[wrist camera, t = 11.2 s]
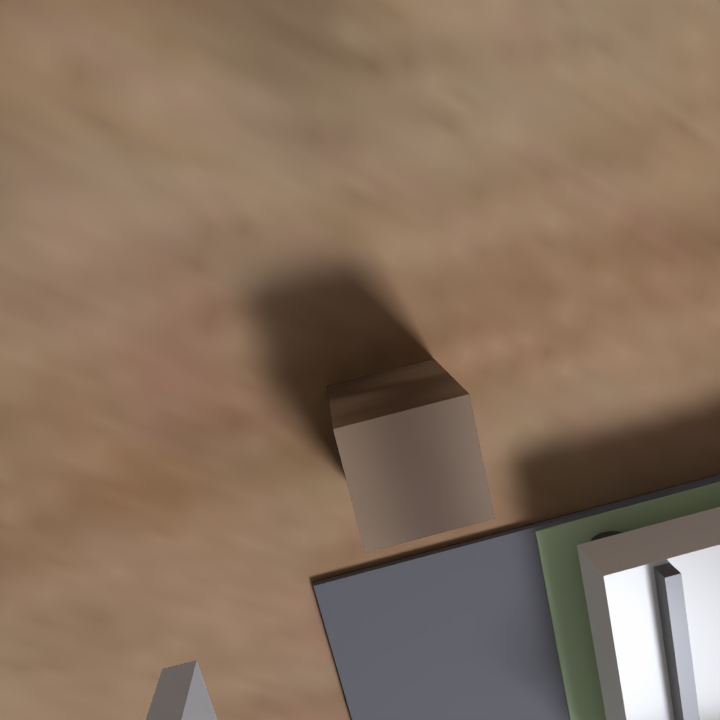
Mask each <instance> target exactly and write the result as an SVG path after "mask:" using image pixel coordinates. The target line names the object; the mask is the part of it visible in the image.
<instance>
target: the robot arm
mask: <svg viewBox="0 0 720 720" xmlns="http://www.w3.org/2000/svg"><path fill="white" fill-rule="evenodd" d="M146 720H217V718H216V715H215V712H214V709H213V706H212V703H211V700H210V697H209V694H208V692H207V689H206V686H205V683H204V680H203V677H202V674H201V671H200V668H199V665H198V662H197V660H195V661H191V662H187V663H184V664H180V665H176V666H172V667H168V668H164V669H162V672H161V675H160V678H159V681H158V684H157V687H156V691H155V694H154V697H153V700H152V703H151V706H150V709H149V712H148V715H147V718H146Z"/></svg>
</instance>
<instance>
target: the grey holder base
mask: <svg viewBox="0 0 720 720" xmlns="http://www.w3.org/2000/svg"><path fill="white" fill-rule="evenodd" d="M717 507H720V474H719V475H716V476H712V477H708V478H704V479H701V480H697V481H693V482H689V483H686V484H682V485H678V486H674V487H671V488H667V489H663V490H659V491H655V492H652V493H648V494H644V495H640V496H637V497H633V498H629V499H625V500H622V501H618V502H614V503H610V504H607V505H603V506H599V507H595V508H592V509H588V510H584V511H580V512H577V513H573V514H569V515H565V516H561V517H558V518H554V519H550V520H546V521H543V522H539V523H535V524H531V525H528V526H524V527H520V528H516V529H513V530H509V531H505V532H501V533H498V534H494V535H490V536H486V537H483V538H479V539H475V540H471V541H467V542H464V543H460V544H456V545H452V546H449V547H445V548H441V549H437V550H434V551H430V552H426V553H422V554H419V555H415V556H411V557H407V558H404V559H400V560H396V561H392V562H389V563H385V564H381V565H377V566H373V567H370V568H366V569H362V570H358V571H355V572H351V573H347V574H343V575H340V576H336V577H332V578H328V579H325V580H321V581H317V582H313V586H314V590H315V593H316V597H317V600H318V604H319V607H320V611H321V614H322V617H323V621H324V624H325V628H326V631H327V635H328V638H329V642H330V645H331V649H332V652H333V656H334V659H335V663H336V666H337V669H338V673H339V676H340V680H341V683H342V687H343V690H344V694H345V697H346V701H347V704H348V708H349V711H350V715H351V718H352V720H606V715H605V709H604V703H603V697H602V691H601V685H600V679H599V673H598V667H597V661H596V656H595V650H594V644H593V638H592V632H591V626H590V620H589V614H588V608H587V603H586V597H585V591H584V585H583V579H582V573H581V567H580V561H579V555H578V549H577V545H579V544H583V543H587V542H590V541H591V540H592V538H593V537H594V536H596V535H597V534H600V533H603V532H607V531H619V532H628V531H631V530H635V529H639V528H642V527H646V526H650V525H654V524H657V523H661V522H665V521H669V520H672V519H676V518H680V517H684V516H687V515H691V514H695V513H698V512H702V511H706V510H710V509H713V508H717Z"/></svg>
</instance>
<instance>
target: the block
mask: <svg viewBox="0 0 720 720" xmlns="http://www.w3.org/2000/svg"><path fill="white" fill-rule="evenodd" d="M327 391H328V398H329V405H330V412H331V419H332V426H333V431H334V435H335V439H336V443H337V446H338V450H339V454H340V458H341V462H342V466H343V469H344V473H345V477H346V481H347V485H348V488H349V492H350V496H351V500H352V504H353V507H354V511H355V515H356V519H357V523H358V526H359V530H360V534H361V538H362V542H363V545H364V549H365V553H367V552H371V551H374V550H378V549H382V548H386V547H389V546H393V545H397V544H401V543H404V542H408V541H412V540H416V539H420V538H423V537H427V536H431V535H435V534H438V533H442V532H446V531H450V530H453V529H457V528H461V527H465V526H468V525H472V524H476V523H480V522H483V521H487V520H491V519H495V518H494V513H493V508H492V503H491V498H490V494H489V489H488V484H487V479H486V474H485V469H484V464H483V459H482V454H481V449H480V444H479V439H478V435H477V430H476V425H475V420H474V415H473V410H472V405H471V400H470V395H469V393H468V392H467V391H466V390H465V389H464V388H463V387H462V386H461V385H460V384H459V383H458V382H457V381H456V380H455V379H454V378H453V377H452V376H451V375H450V374H449V373H448V372H447V371H446V370H445V369H444V368H443V367H442V366H441V365H440V364H439V363H438V362H437V361H436V360H435V359H432V360H428V361H424V362H420V363H416V364H412V365H409V366H405V367H401V368H397V369H393V370H389V371H385V372H381V373H377V374H373V375H369V376H365V377H361V378H357V379H354V380H350V381H346V382H342V383H338V384H334V385H330V386H327Z"/></svg>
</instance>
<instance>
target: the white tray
mask: <svg viewBox="0 0 720 720" xmlns="http://www.w3.org/2000/svg"><path fill="white" fill-rule="evenodd" d="M577 549H578V555H579V561H580V567H581V573H582V579H583V585H584V591H585V597H586V603H587V608H588V614H589V620H590V626H591V632H592V638H593V644H594V650H595V656H596V661H597V667H598V673H599V679H600V685H601V691H602V697H603V703H604V709H605V715H606V720H720V507H717V508H713V509H710V510H706V511H702V512H698V513H695V514H691V515H687V516H684V517H680V518H676V519H672V520H669V521H665V522H661V523H657V524H654V525H650V526H646V527H642V528H639V529H635V530H631V531H628V532H619V531H607V532H603V533H600V534H597V535H596V536H594V537H593V538H592V540H591V541H590V542H587V543H583V544H579V545H577Z"/></svg>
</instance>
